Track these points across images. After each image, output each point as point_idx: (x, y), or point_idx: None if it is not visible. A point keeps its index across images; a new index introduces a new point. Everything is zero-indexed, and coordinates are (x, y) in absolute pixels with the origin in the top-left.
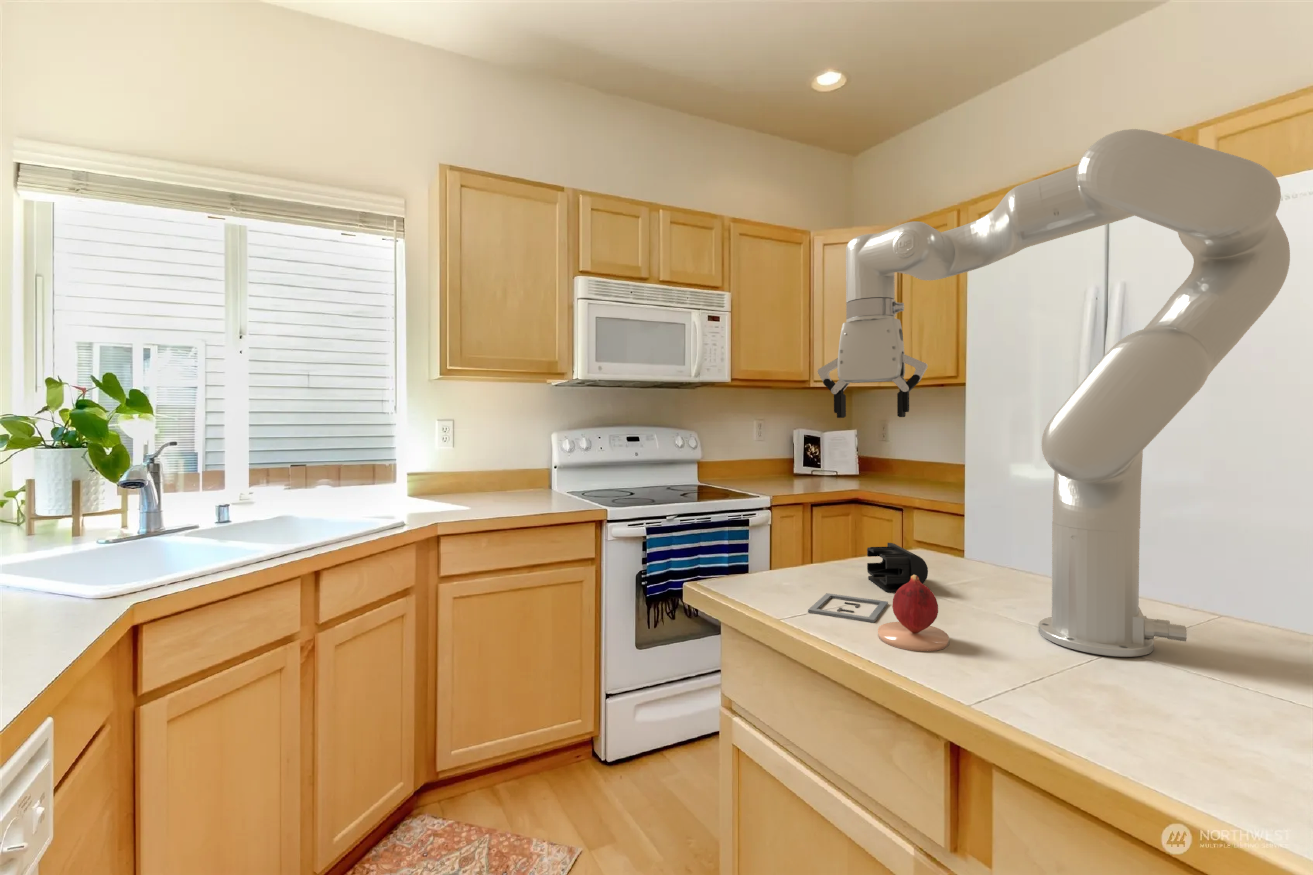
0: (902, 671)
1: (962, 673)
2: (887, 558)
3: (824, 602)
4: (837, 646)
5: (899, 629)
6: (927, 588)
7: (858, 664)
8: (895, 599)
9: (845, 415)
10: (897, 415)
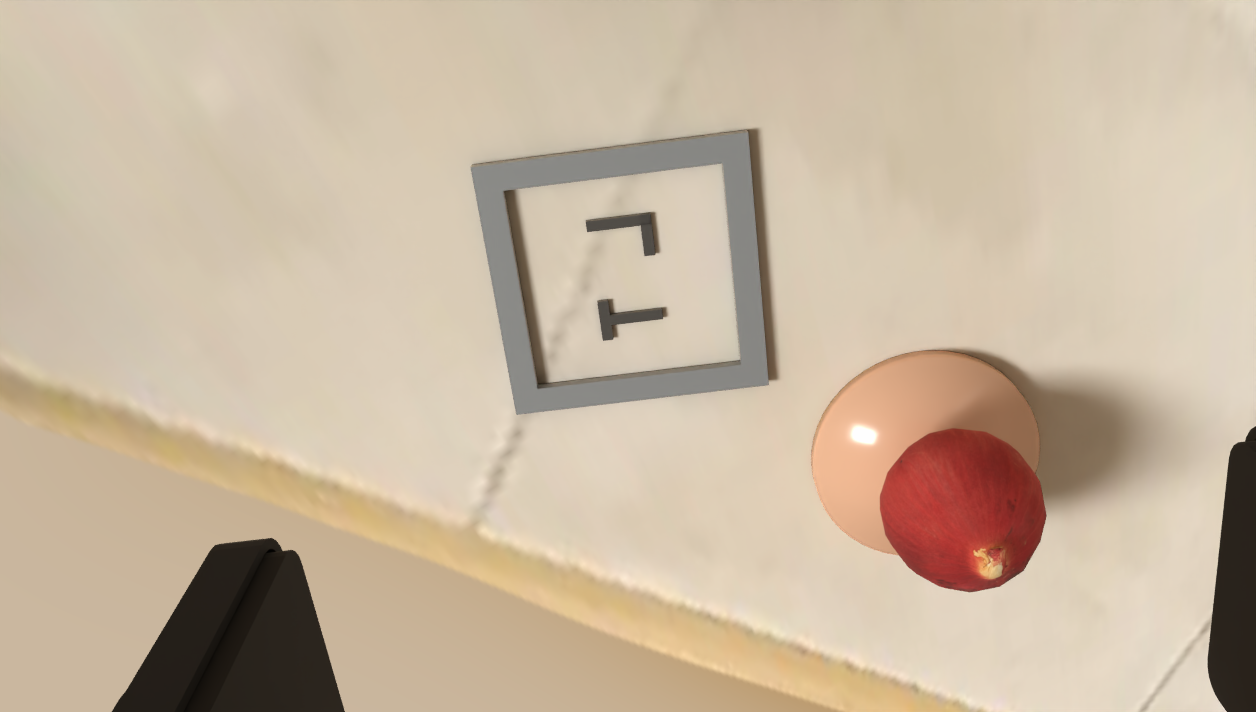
0: (943, 677)
1: (1085, 610)
2: None
3: (519, 281)
4: (737, 625)
5: (880, 454)
6: (1030, 545)
7: (830, 697)
8: (907, 564)
9: (296, 579)
10: (1213, 689)
